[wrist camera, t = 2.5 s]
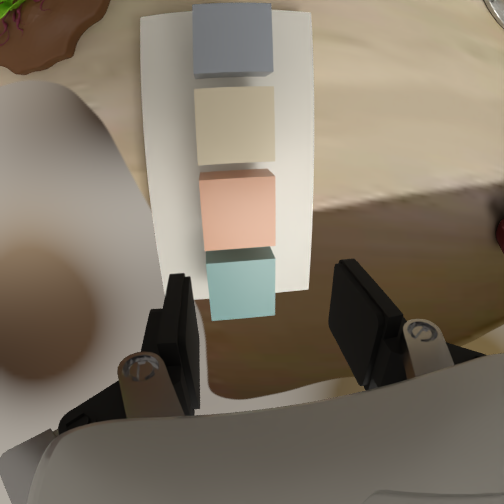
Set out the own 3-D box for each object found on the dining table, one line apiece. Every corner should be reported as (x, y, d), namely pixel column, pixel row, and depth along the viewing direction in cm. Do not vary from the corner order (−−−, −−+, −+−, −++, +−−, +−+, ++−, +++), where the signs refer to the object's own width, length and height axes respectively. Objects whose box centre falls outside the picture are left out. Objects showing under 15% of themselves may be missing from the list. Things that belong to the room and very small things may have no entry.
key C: (201, 166, 26) (198, 180, 20) (261, 162, 26) (275, 176, 21) (205, 223, 28) (204, 251, 23) (262, 218, 28) (275, 245, 23)
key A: (195, 27, 21) (192, 4, 15) (257, 25, 21) (271, 3, 16) (197, 83, 23) (193, 74, 18) (259, 80, 23) (273, 71, 18)
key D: (206, 233, 28) (205, 264, 23) (262, 229, 29) (275, 258, 23) (210, 283, 30) (211, 320, 25) (263, 278, 31) (274, 315, 26)
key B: (197, 94, 23) (193, 89, 18) (259, 92, 24) (273, 86, 18) (200, 154, 25) (197, 165, 20) (260, 150, 26) (275, 161, 21)
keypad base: (146, 25, 22) (140, 17, 19) (301, 21, 24) (311, 12, 21) (168, 285, 33) (165, 301, 30) (300, 275, 34) (308, 289, 32)
